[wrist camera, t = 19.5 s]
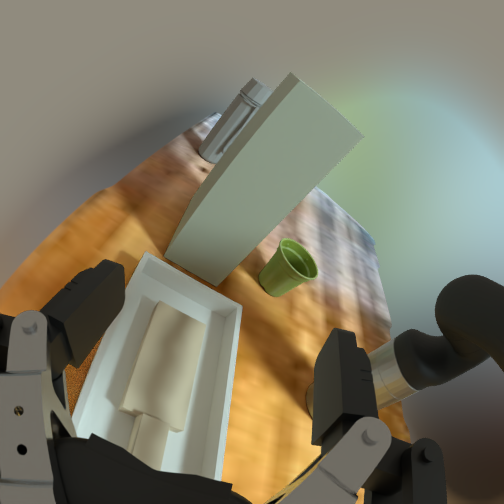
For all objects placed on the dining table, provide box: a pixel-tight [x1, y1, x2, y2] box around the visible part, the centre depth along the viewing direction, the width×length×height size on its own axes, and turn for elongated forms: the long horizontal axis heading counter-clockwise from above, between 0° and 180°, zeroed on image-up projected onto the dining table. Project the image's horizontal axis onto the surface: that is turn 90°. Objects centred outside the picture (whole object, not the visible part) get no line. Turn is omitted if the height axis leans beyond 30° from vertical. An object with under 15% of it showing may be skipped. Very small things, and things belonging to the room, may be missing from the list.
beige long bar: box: [118, 300, 206, 471], centre depth 25 cm, size 7×30×3 cm, turn 174°
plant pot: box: [259, 238, 318, 297], centre depth 55 cm, size 9×9×9 cm
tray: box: [71, 251, 243, 481], centre depth 26 cm, size 16×38×4 cm, turn 174°
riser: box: [164, 72, 364, 287], centre depth 45 cm, size 10×20×32 cm, turn 174°
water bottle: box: [199, 78, 273, 164], centre depth 69 cm, size 9×8×25 cm
